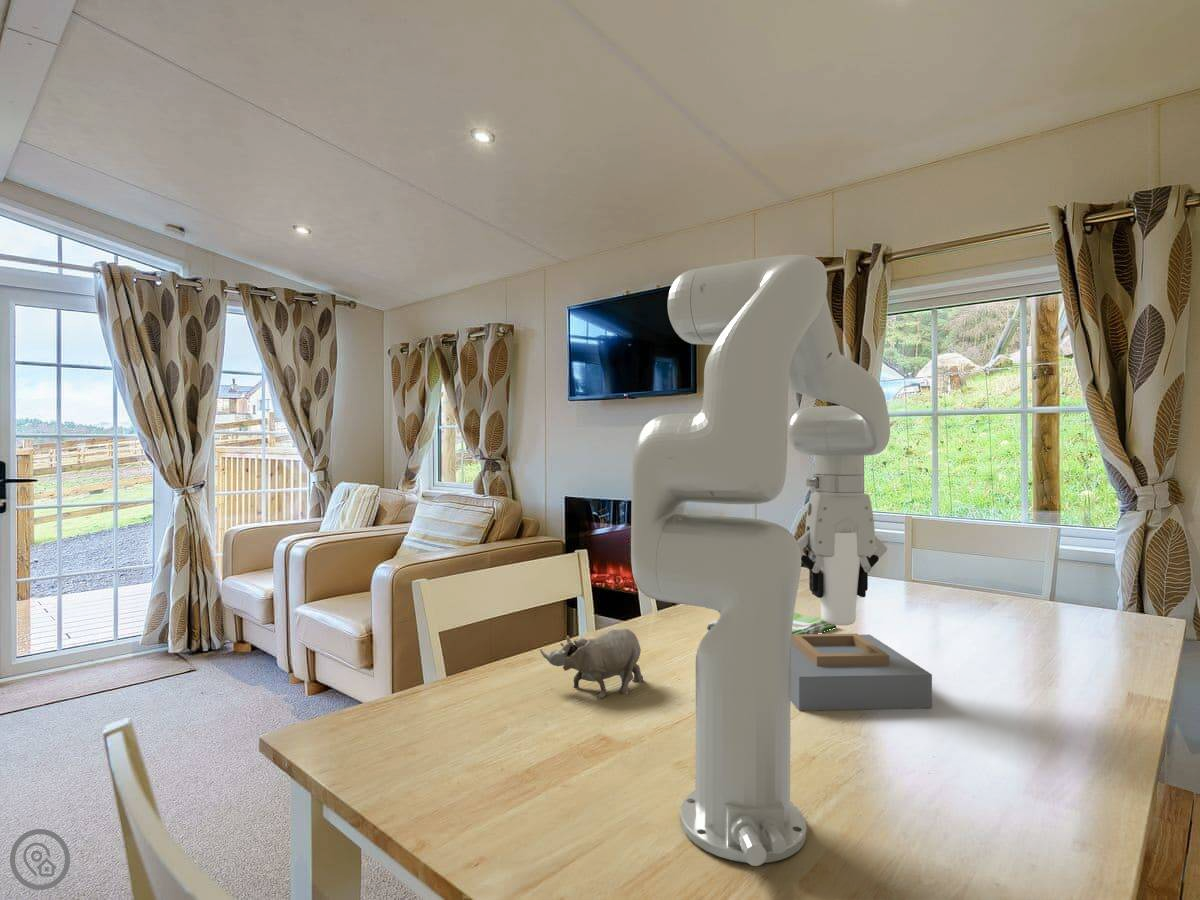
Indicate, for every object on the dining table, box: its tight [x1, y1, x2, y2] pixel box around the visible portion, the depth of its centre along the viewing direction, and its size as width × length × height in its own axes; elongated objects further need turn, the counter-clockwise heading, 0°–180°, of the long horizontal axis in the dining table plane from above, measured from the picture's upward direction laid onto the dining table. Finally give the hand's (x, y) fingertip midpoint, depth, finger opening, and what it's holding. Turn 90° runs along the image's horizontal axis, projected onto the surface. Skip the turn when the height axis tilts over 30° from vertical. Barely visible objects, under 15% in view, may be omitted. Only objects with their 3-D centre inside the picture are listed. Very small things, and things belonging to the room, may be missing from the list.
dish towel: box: [706, 611, 837, 634], centre depth 137 cm, size 17×23×4 cm
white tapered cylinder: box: [819, 532, 861, 626], centre depth 106 cm, size 7×7×15 cm
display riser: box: [790, 633, 933, 712], centre depth 106 cm, size 20×20×6 cm
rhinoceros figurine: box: [539, 628, 644, 700], centre depth 104 cm, size 8×14×15 cm
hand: (838, 594), depth 106 cm, fingers closed on white tapered cylinder, 6 cm apart
